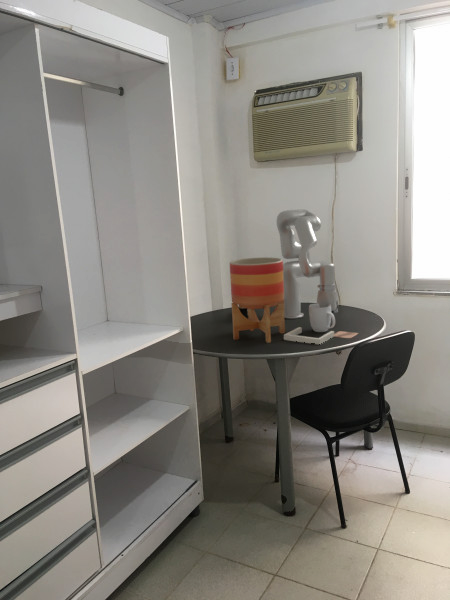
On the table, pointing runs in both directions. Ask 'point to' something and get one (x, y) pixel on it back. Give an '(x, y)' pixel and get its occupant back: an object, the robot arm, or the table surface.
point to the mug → (321, 317)
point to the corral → (293, 337)
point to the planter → (257, 294)
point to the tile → (345, 334)
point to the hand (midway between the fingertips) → (328, 322)
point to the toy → (244, 312)
